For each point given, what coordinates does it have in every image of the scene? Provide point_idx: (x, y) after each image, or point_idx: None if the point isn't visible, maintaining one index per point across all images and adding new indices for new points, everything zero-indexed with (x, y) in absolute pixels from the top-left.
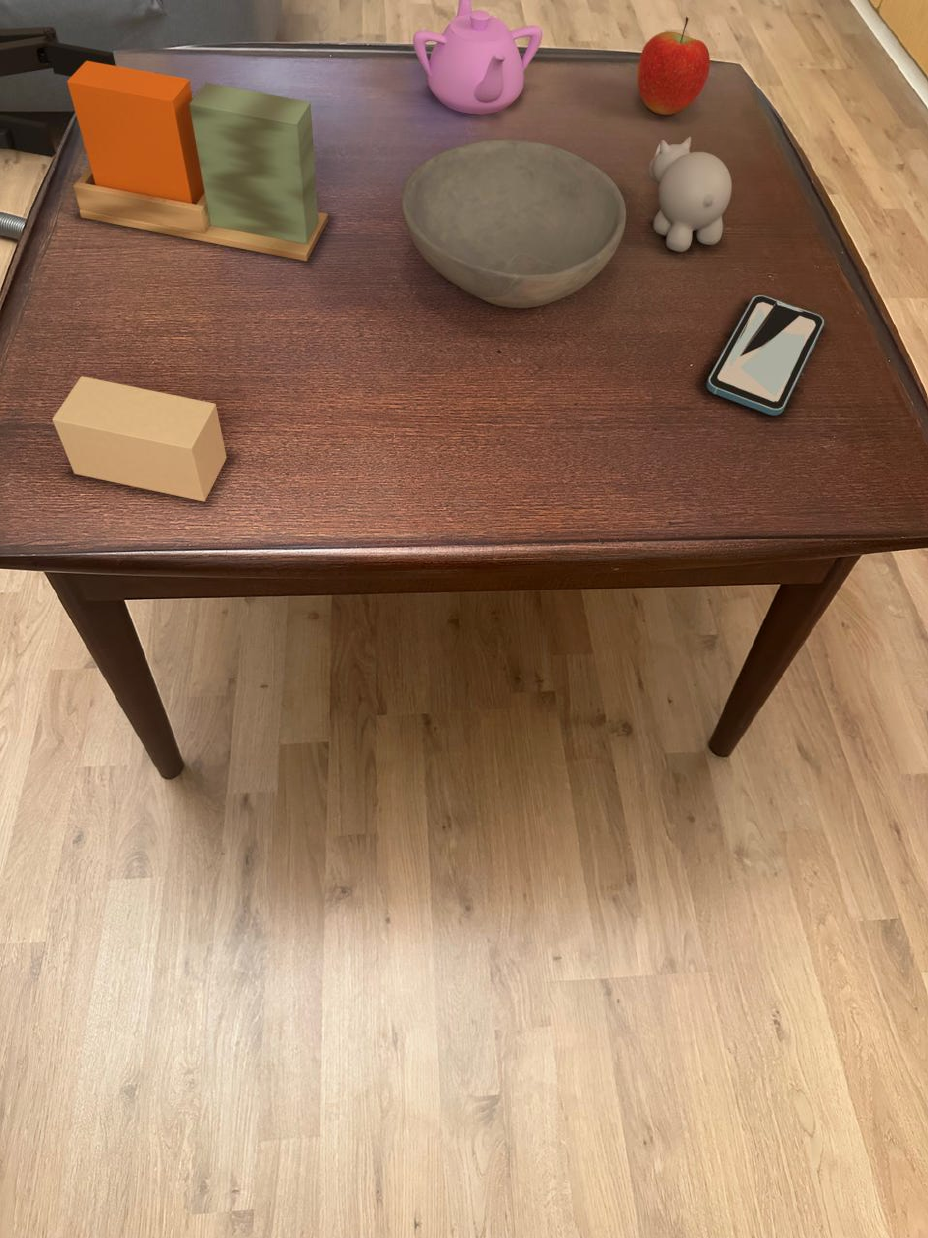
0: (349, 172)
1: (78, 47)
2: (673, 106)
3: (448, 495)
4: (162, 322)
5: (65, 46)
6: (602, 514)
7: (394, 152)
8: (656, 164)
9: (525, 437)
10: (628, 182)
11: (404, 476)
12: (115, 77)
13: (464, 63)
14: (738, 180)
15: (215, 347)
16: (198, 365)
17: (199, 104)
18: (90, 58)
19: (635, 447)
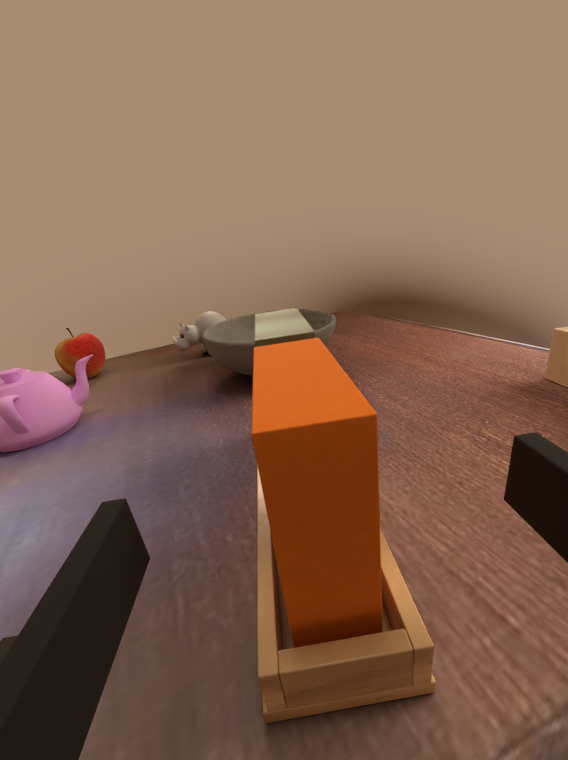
0: (176, 446)
1: (40, 615)
2: (104, 362)
3: (448, 340)
4: (495, 454)
5: (15, 679)
6: (407, 326)
7: (138, 436)
8: (192, 334)
9: (390, 340)
10: (171, 367)
11: (455, 347)
12: (299, 379)
13: (54, 391)
14: (165, 353)
15: (472, 418)
16: (502, 416)
17: (309, 329)
18: (103, 569)
19: (366, 330)
